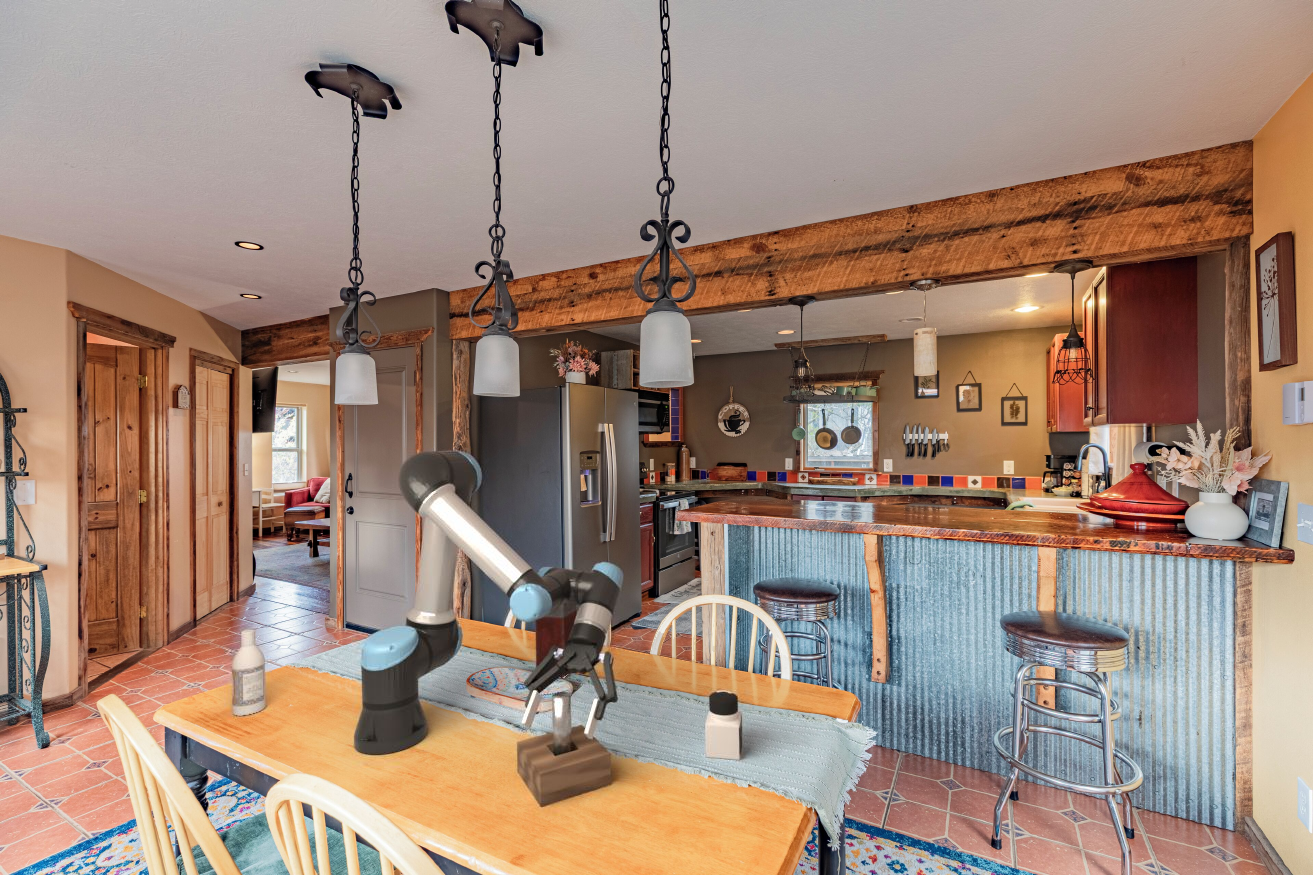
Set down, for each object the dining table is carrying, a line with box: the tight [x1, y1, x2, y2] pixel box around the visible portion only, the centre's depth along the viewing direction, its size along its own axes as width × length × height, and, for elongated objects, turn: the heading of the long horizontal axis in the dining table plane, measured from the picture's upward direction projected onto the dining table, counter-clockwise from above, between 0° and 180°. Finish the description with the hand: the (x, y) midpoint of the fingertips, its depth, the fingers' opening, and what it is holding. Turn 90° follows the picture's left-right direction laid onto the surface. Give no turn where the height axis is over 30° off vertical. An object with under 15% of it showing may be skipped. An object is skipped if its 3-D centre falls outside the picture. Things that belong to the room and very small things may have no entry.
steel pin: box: [551, 691, 572, 756], centre depth 121 cm, size 4×4×14 cm
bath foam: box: [231, 628, 267, 717], centre depth 155 cm, size 7×7×20 cm
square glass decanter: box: [534, 603, 578, 677], centre depth 178 cm, size 9×11×28 cm
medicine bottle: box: [704, 690, 743, 761], centre depth 130 cm, size 7×7×12 cm
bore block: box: [516, 724, 612, 808], centre depth 121 cm, size 14×14×6 cm
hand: (556, 731), depth 118 cm, fingers open, 13 cm apart
